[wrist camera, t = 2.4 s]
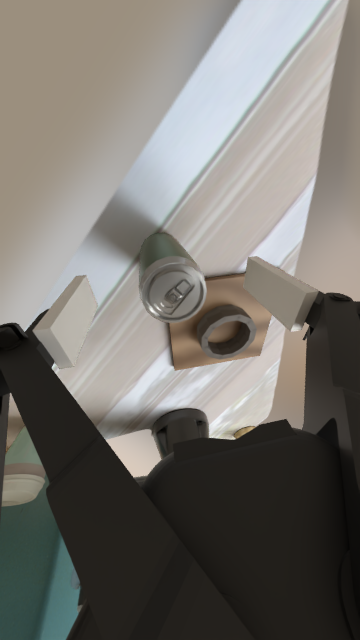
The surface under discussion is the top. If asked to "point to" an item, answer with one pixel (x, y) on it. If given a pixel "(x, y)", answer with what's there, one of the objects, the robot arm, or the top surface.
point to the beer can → (169, 280)
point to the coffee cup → (22, 471)
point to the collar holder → (221, 326)
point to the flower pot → (34, 574)
